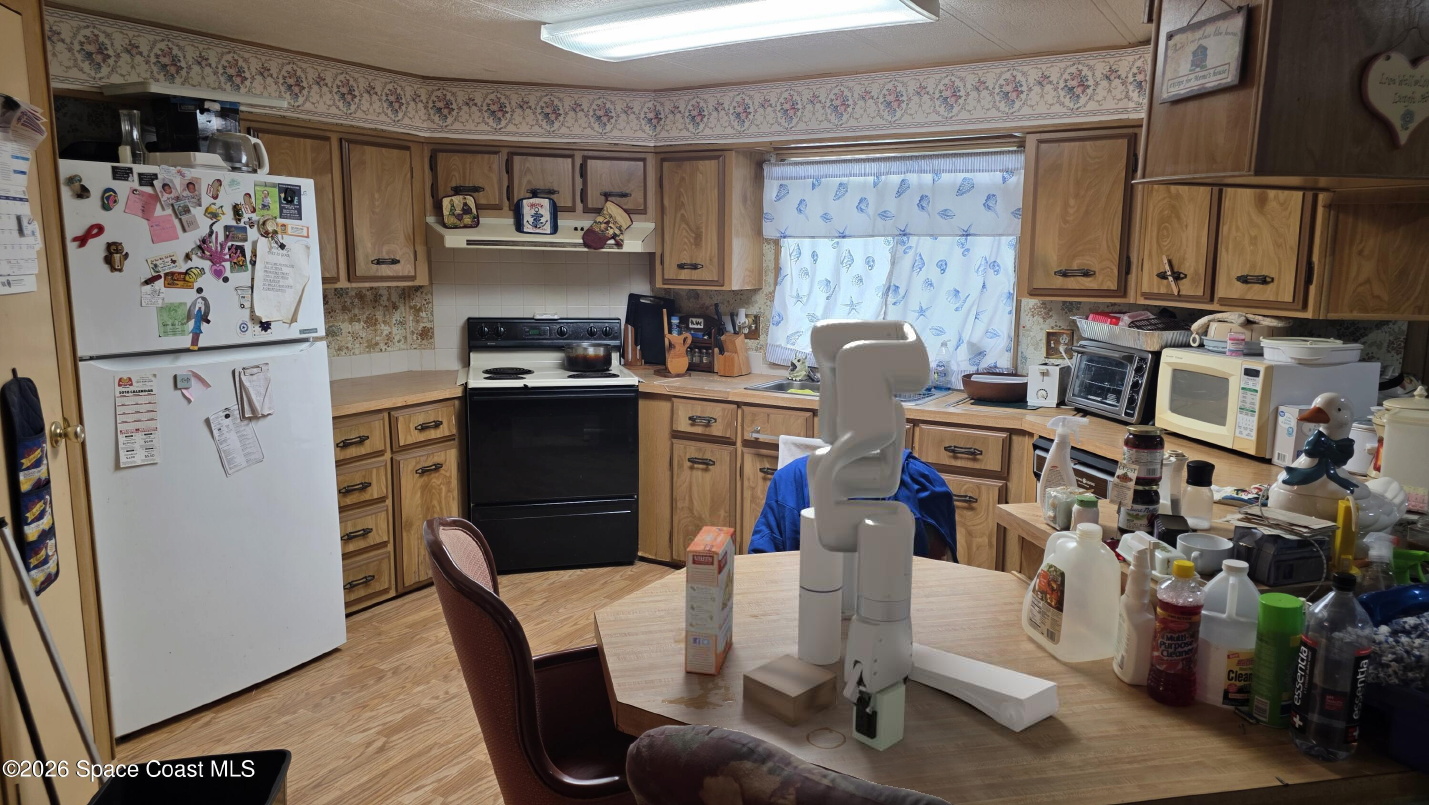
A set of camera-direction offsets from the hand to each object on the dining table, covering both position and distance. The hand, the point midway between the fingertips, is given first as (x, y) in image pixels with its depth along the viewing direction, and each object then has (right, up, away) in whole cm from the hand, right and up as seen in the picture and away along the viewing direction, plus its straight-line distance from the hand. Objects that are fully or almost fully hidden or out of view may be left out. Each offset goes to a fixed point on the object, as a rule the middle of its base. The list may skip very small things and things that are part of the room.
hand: (878, 726), depth 126 cm
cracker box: (-24, +2, +26) cm, 35 cm away
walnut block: (-12, 0, +10) cm, 15 cm away
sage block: (0, -2, 0) cm, 2 cm away
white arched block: (+16, 0, +15) cm, 22 cm away
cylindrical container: (-5, +2, +26) cm, 27 cm away
